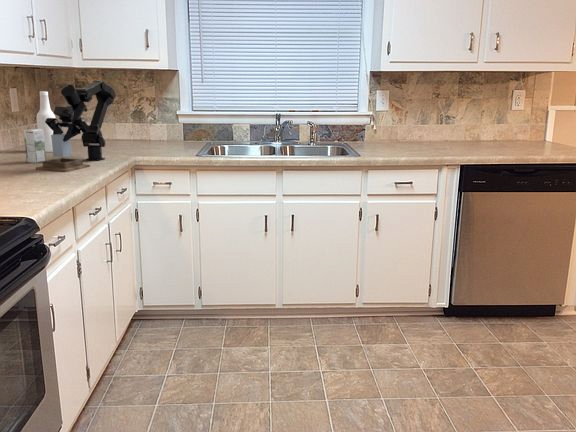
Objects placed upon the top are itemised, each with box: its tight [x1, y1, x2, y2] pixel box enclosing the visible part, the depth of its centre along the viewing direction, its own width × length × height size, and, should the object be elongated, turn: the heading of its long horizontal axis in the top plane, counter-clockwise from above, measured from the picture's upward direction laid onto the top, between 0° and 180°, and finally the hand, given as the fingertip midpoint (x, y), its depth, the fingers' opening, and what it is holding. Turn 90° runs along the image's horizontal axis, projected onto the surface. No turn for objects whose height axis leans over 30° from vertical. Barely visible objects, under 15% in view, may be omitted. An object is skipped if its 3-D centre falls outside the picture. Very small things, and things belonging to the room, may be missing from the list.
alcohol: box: [36, 91, 57, 153], centre depth 260 cm, size 9×9×30 cm
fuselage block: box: [51, 133, 72, 158], centre depth 214 cm, size 5×5×9 cm
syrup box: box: [23, 128, 47, 164], centre depth 229 cm, size 6×6×14 cm
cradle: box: [35, 157, 91, 173], centre depth 216 cm, size 15×15×3 cm
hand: (58, 140), depth 213 cm, fingers closed on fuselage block, 5 cm apart
